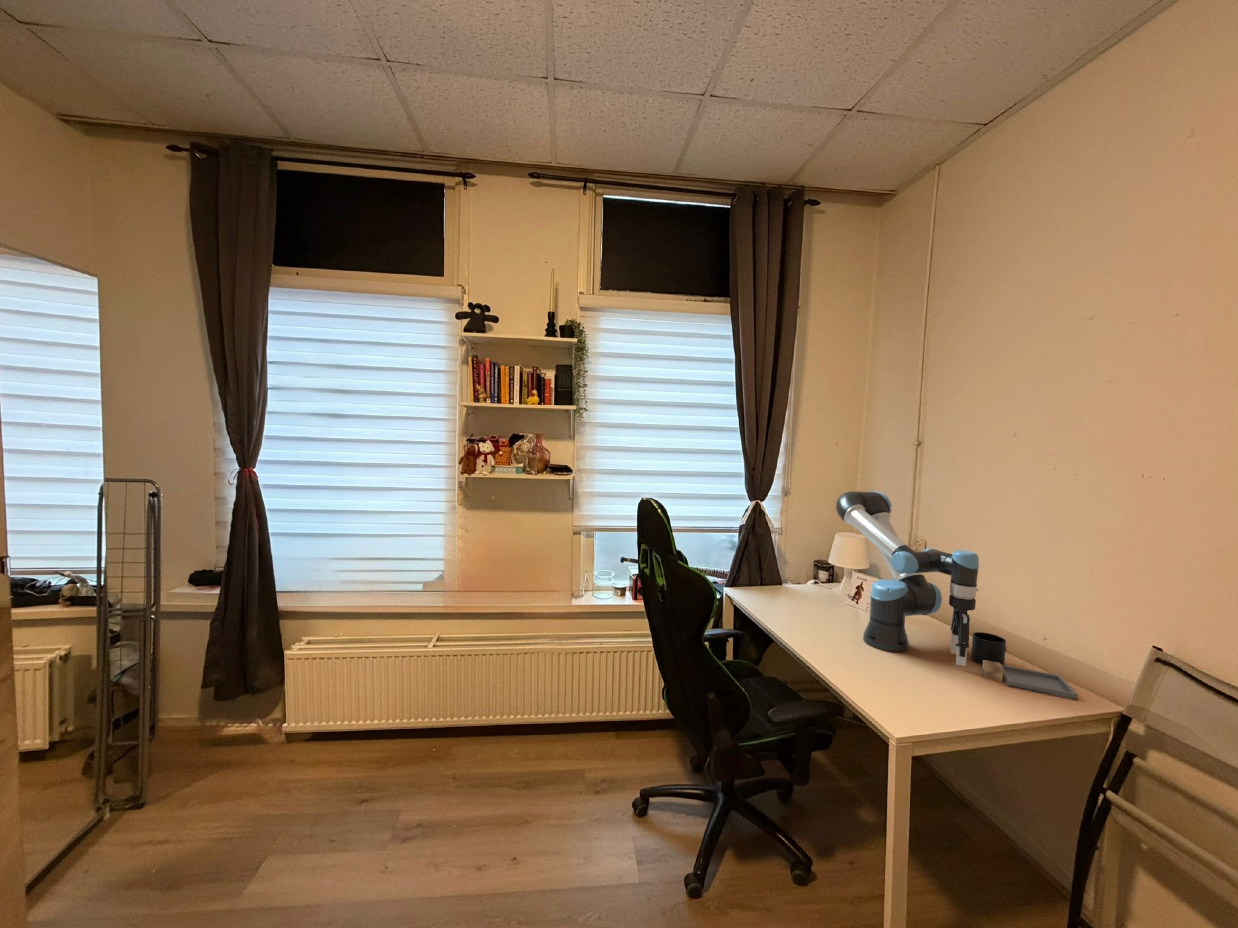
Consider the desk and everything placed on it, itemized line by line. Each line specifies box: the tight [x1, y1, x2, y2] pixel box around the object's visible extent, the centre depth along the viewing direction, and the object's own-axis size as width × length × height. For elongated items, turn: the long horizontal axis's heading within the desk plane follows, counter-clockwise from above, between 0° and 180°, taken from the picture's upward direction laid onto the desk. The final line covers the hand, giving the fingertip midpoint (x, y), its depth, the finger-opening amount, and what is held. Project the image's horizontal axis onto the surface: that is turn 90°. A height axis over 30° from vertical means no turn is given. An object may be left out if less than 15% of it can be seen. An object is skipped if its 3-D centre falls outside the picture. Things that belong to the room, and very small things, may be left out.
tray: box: [1001, 664, 1079, 701], centre depth 161 cm, size 17×14×2 cm
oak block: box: [981, 660, 1003, 683], centre depth 165 cm, size 4×4×4 cm
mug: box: [970, 631, 1007, 666], centre depth 176 cm, size 9×12×9 cm
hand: (957, 658), depth 174 cm, fingers open, 10 cm apart
